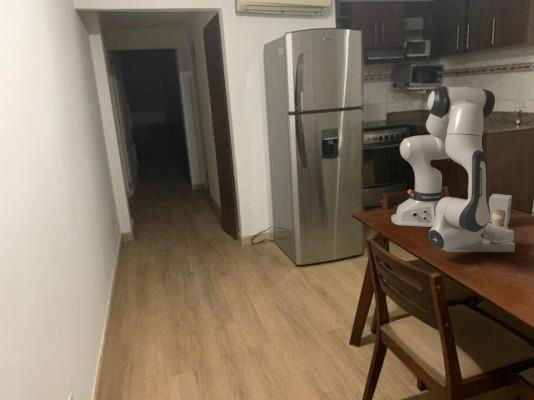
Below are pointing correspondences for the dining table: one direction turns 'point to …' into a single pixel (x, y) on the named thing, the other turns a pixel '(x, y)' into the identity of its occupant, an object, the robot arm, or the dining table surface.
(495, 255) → the dining table surface
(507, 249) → the board
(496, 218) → the peg
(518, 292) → the dining table surface
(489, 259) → the dining table surface
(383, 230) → the dining table surface
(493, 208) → the supplement box
